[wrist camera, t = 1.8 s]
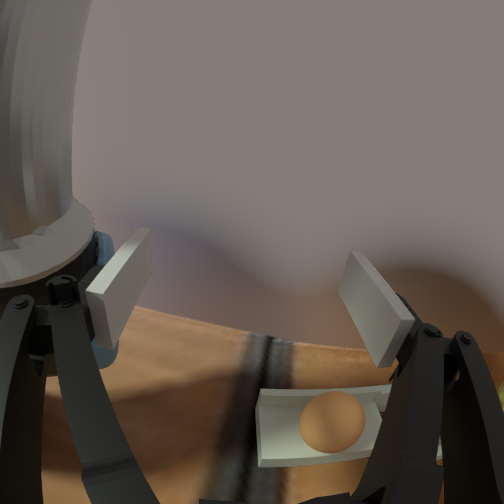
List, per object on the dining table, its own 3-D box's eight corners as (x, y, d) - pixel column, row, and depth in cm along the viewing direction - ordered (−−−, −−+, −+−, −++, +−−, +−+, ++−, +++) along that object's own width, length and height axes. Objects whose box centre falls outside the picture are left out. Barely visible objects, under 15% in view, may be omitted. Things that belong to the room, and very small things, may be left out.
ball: (278, 436, 27) (294, 401, 24) (318, 405, 31) (336, 367, 28) (326, 474, 22) (352, 445, 19) (361, 436, 27) (387, 402, 24)
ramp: (260, 493, 22) (268, 479, 20) (255, 409, 32) (261, 386, 30) (455, 453, 24) (476, 433, 22) (427, 395, 35) (442, 374, 33)
